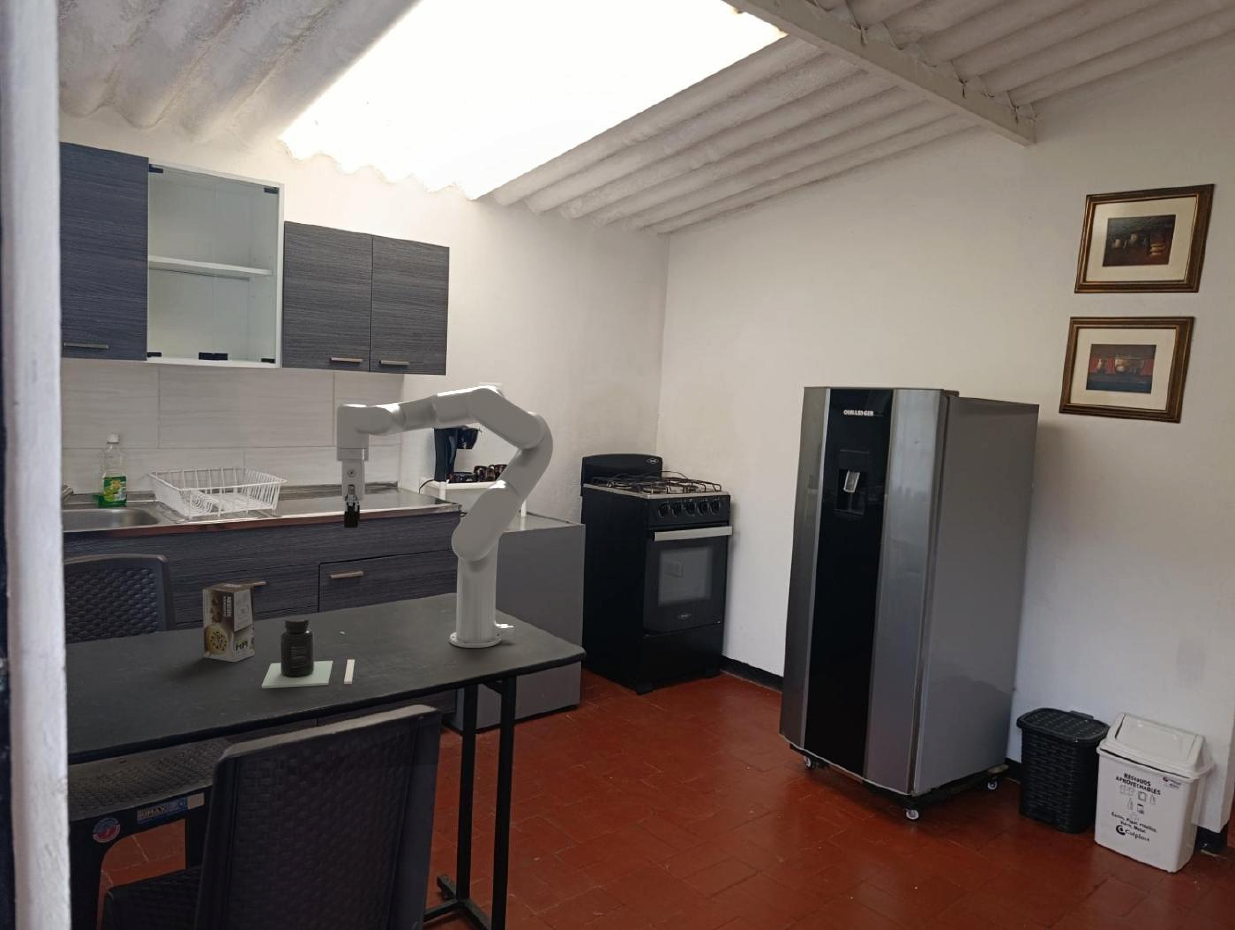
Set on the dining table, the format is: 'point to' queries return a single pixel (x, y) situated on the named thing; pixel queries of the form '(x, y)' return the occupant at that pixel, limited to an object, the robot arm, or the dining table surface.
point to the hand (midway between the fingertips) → (352, 524)
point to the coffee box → (228, 622)
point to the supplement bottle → (297, 647)
